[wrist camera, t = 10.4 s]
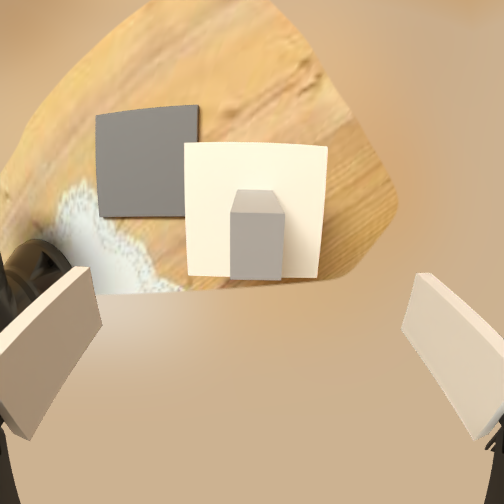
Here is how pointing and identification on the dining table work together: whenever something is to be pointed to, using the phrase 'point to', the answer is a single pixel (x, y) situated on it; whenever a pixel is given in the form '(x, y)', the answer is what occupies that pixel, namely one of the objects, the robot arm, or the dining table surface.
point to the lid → (254, 209)
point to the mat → (143, 160)
